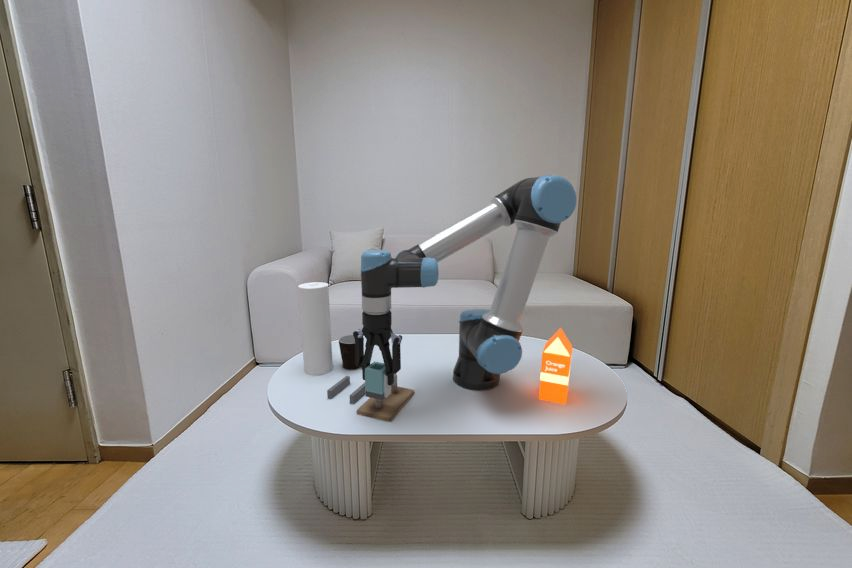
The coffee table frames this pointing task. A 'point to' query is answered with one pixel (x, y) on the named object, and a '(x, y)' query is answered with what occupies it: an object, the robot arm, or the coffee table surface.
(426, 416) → the coffee table surface
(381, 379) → the sleeve
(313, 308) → the cylinder container
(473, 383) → the robot arm
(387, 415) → the pin board
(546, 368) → the orange juice
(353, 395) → the feeder rails
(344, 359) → the coffee mug
